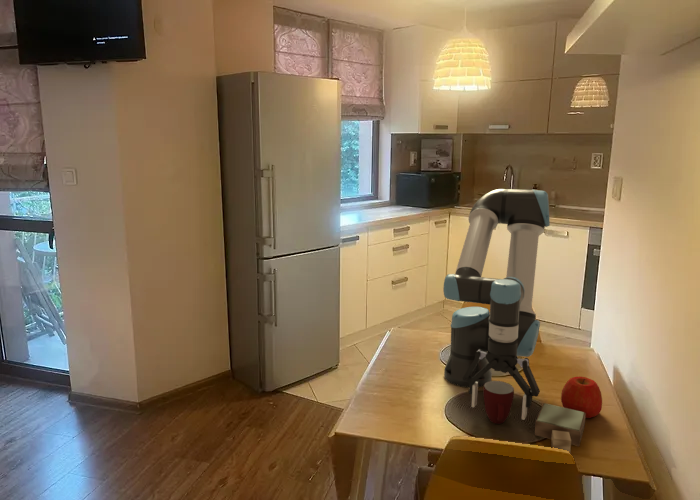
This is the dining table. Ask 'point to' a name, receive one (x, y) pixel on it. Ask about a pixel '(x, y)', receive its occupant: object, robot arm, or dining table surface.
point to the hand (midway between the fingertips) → (498, 411)
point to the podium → (560, 422)
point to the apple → (582, 396)
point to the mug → (498, 400)
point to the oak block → (561, 440)
